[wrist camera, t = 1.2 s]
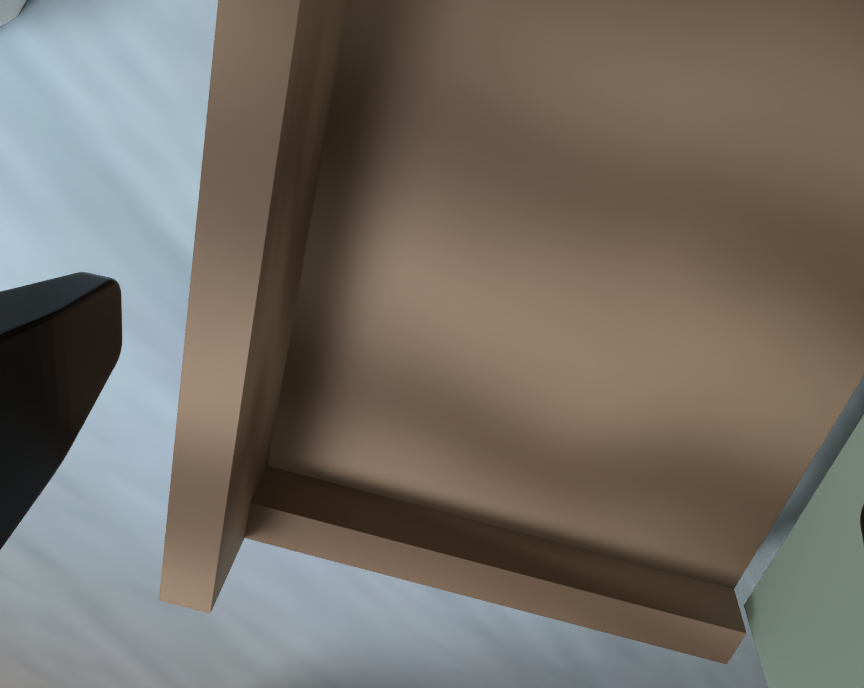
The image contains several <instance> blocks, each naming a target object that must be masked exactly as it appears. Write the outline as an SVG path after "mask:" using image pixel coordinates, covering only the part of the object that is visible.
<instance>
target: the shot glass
mask: <svg viewBox="0 0 864 688" xmlns="http://www.w3.org/2000/svg"><path fill="white" fill-rule="evenodd" d="M25 2H26V0H0V27H1V26H3V25H4V24H6V23H8V22H9V21H11V20H13V19H14V18H16V17H17V16H18V14H19V13H20V11H21V9H22V7H23V6H24V4H25Z"/></svg>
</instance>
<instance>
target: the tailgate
mask: <svg viewBox="0 0 864 688" xmlns="http://www.w3.org/2000/svg"><path fill="white" fill-rule="evenodd" d="M863 504H864V415H863V416H862V418H861V420H860V421H859V423H858V424H857V426H856V428H855V429H854V431H853V432H852V434H851V436H850V437H849V439H848V440H847V442H846V444H845V445H844V447H843V448H842V450H841V451H840V453H839V455H838V456H837V458H836V459H835V461H834V463H833V464H832V466H831V467H830V469H829V471H828V472H827V474H826V475H825V477H824V479H823V480H822V482H821V483H820V485H819V487H818V488H817V490H816V491H815V493H814V495H813V496H812V498H811V499H810V501H809V502H808V504H807V506H806V507H805V509H804V510H803V512H802V514H801V515H800V517H799V518H798V520H797V522H796V523H795V525H794V526H793V528H792V530H791V531H790V533H789V534H788V536H787V538H786V539H785V541H784V542H783V544H782V546H781V547H780V549H779V550H778V552H777V554H776V555H775V557H774V558H773V560H772V561H771V563H770V565H769V566H768V568H767V569H766V571H765V573H764V574H763V576H762V577H761V579H760V581H759V582H758V584H757V585H756V587H755V589H754V590H753V592H752V593H751V595H750V597H749V598H748V600H747V601H746V603H745V605H744V607H745V611H746V614H747V618H748V621H749V625H750V628H751V632H752V635H753V639H754V642H755V646H756V649H757V652H758V656H759V659H760V663H761V666H762V670H763V673H764V677H765V680H766V684H767V687H768V688H864V544H863V538H862V533H861V527H860V515H861V510H862V507H863Z"/></svg>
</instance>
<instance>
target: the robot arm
mask: <svg viewBox="0 0 864 688" xmlns="http://www.w3.org/2000/svg"><path fill="white" fill-rule="evenodd" d="M121 347H122V309H121V290H120V286H119V284H118V283H117V281H116V280H115V279H112V278H109V277H105V276H100V275H95V274H91V273H86V272H79V273H74V274H70V275H66V276H62V277H58V278H54V279H50V280H46V281H42V282H38V283H34V284H30V285H26V286H22V287H18V288H14V289H10V290H5V291H1V292H0V550H1V548H2V547H3V545H4V544H5V543H6V541H7V540H8V538H9V537H10V536H11V534H12V533H13V531H14V530H15V529H16V527H17V526H18V524H19V523H20V522H21V520H22V519H23V517H24V516H25V515H26V513H27V512H28V510H29V509H30V508H31V506H32V505H33V503H34V502H35V501H36V499H37V498H38V496H39V495H40V494H41V492H42V491H43V489H44V488H45V487H46V485H47V484H48V482H49V481H50V479H51V478H52V477H53V475H54V474H55V472H56V471H57V469H58V468H59V466H60V465H61V463H62V462H63V460H64V458H65V456H66V455H67V453H68V451H69V450H70V448H71V446H72V444H73V442H74V441H75V439H76V437H77V435H78V433H79V431H80V430H81V428H82V426H83V424H84V422H85V420H86V418H87V417H88V415H89V413H90V411H91V409H92V407H93V406H94V404H95V402H96V400H97V398H98V396H99V394H100V393H101V391H102V389H103V387H104V385H105V383H106V382H107V380H108V378H109V376H110V374H111V372H112V370H113V369H114V367H115V365H116V363H117V361H118V358H119V356H120V352H121ZM860 527H861V533H862V538H863V544H864V504H863V507H862V510H861V515H860Z"/></svg>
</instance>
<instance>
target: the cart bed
mask: <svg viewBox="0 0 864 688" xmlns="http://www.w3.org/2000/svg"><path fill="white" fill-rule="evenodd" d="M863 376H864V0H218V9H217V20H216V30H215V40H214V50H213V60H212V70H211V80H210V90H209V100H208V110H207V121H206V131H205V141H204V151H203V161H202V171H201V181H200V191H199V201H198V211H197V222H196V232H195V242H194V252H193V262H192V272H191V282H190V292H189V302H188V312H187V323H186V333H185V343H184V353H183V363H182V373H181V383H180V393H179V403H178V413H177V424H176V434H175V444H174V454H173V464H172V474H171V484H170V494H169V504H168V514H167V525H166V535H165V545H164V555H163V565H162V575H161V585H160V595H159V600H160V601H164V602H168V603H172V604H175V605H179V606H183V607H187V608H191V609H195V610H198V611H202V612H206V613H211V611H212V608H213V606H214V604H215V602H216V600H217V597H218V595H219V593H220V591H221V588H222V586H223V584H224V582H225V580H226V577H227V575H228V573H229V571H230V569H231V566H232V564H233V562H234V560H235V557H236V555H237V553H238V551H239V549H240V546H241V544H242V542H243V540H244V538H247V539H251V540H255V541H259V542H262V543H266V544H270V545H274V546H278V547H282V548H285V549H289V550H293V551H297V552H301V553H304V554H308V555H312V556H316V557H320V558H323V559H327V560H331V561H335V562H339V563H343V564H346V565H350V566H354V567H358V568H362V569H365V570H369V571H373V572H377V573H381V574H384V575H388V576H392V577H396V578H400V579H404V580H407V581H411V582H415V583H419V584H423V585H426V586H430V587H434V588H438V589H442V590H446V591H449V592H453V593H457V594H461V595H465V596H468V597H472V598H476V599H480V600H484V601H487V602H491V603H495V604H499V605H503V606H507V607H510V608H514V609H518V610H522V611H526V612H529V613H533V614H537V615H541V616H545V617H548V618H552V619H556V620H560V621H564V622H568V623H571V624H575V625H579V626H583V627H587V628H590V629H594V630H598V631H602V632H606V633H610V634H613V635H617V636H621V637H625V638H629V639H632V640H636V641H640V642H644V643H648V644H651V645H655V646H659V647H663V648H667V649H671V650H674V651H678V652H682V653H686V654H690V655H693V656H697V657H701V658H705V659H709V660H712V661H716V662H720V663H724V664H727V663H728V661H729V660H730V658H731V657H732V655H733V653H734V652H735V650H736V649H737V647H738V646H739V644H740V643H741V641H742V639H743V638H744V636H745V635H746V630H745V627H744V623H743V620H742V616H741V612H740V609H739V605H738V602H737V598H736V595H735V591H734V588H735V586H736V585H737V583H738V581H739V580H740V578H741V576H742V575H743V573H744V571H745V570H746V568H747V567H748V565H749V563H750V562H751V560H752V558H753V557H754V555H755V553H756V552H757V550H758V548H759V547H760V545H761V544H762V542H763V540H764V539H765V537H766V535H767V534H768V532H769V530H770V529H771V527H772V525H773V524H774V522H775V521H776V519H777V517H778V516H779V514H780V512H781V511H782V509H783V507H784V506H785V504H786V502H787V501H788V499H789V498H790V496H791V494H792V493H793V491H794V489H795V488H796V486H797V484H798V483H799V481H800V479H801V478H802V476H803V475H804V473H805V471H806V470H807V468H808V466H809V465H810V463H811V461H812V460H813V458H814V457H815V455H816V453H817V452H818V450H819V448H820V447H821V445H822V443H823V442H824V440H825V438H826V437H827V435H828V434H829V432H830V430H831V429H832V427H833V425H834V424H835V422H836V420H837V419H838V417H839V415H840V414H841V412H842V411H843V409H844V407H845V406H846V404H847V402H848V401H849V399H850V397H851V396H852V394H853V392H854V391H855V389H856V388H857V386H858V384H859V383H860V381H861V379H862V378H863Z"/></svg>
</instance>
